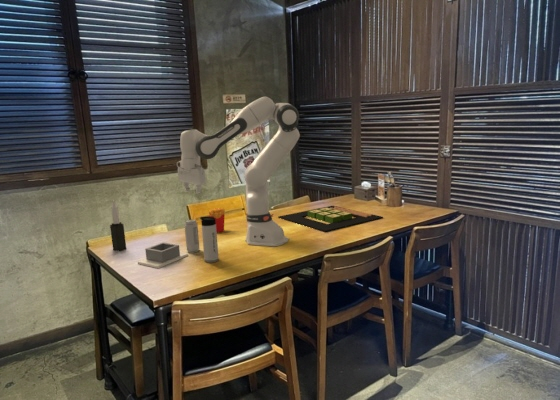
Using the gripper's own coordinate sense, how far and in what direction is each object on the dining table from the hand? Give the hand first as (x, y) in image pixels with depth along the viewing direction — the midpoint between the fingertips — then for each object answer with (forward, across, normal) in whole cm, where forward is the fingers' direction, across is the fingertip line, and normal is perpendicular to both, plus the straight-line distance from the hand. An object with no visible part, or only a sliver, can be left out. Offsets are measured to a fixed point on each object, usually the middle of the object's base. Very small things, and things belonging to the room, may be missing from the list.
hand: (192, 192), depth 194 cm
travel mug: (+27, -23, +6) cm, 37 cm away
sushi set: (+26, -14, -85) cm, 90 cm away
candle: (+29, +27, +28) cm, 48 cm away
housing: (+28, -5, +20) cm, 35 cm away
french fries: (+27, +15, -23) cm, 39 cm away
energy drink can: (+28, -5, +5) cm, 28 cm away
